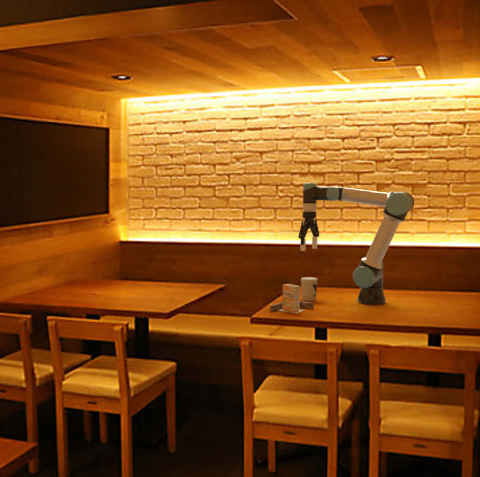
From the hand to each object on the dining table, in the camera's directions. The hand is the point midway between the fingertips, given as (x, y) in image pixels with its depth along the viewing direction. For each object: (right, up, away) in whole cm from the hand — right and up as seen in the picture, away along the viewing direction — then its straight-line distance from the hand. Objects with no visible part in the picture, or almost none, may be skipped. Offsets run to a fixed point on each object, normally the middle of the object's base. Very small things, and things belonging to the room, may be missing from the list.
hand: (308, 249), depth 376 cm
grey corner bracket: (-11, -31, -23) cm, 40 cm away
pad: (-12, -31, -24) cm, 41 cm away
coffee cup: (+1, -28, +8) cm, 29 cm away
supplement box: (-12, -31, -24) cm, 41 cm away
